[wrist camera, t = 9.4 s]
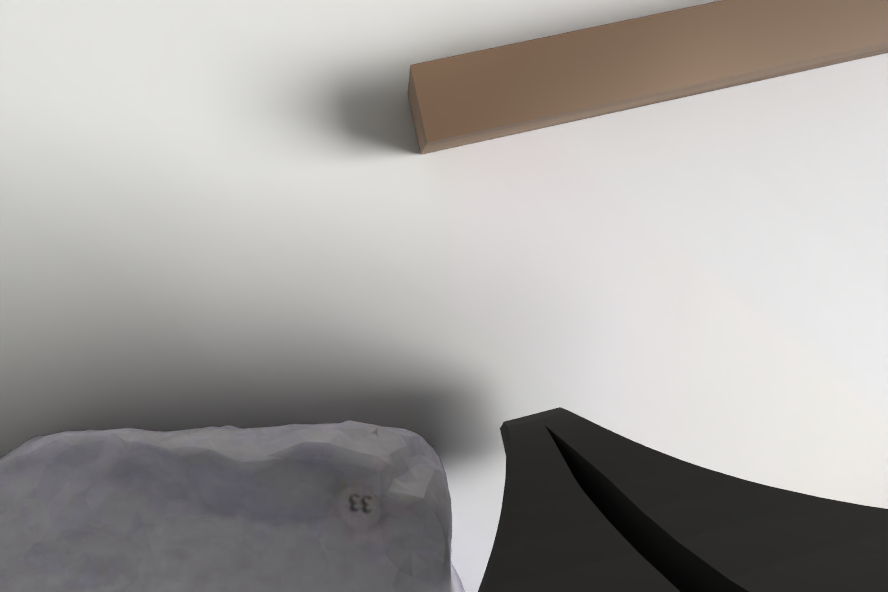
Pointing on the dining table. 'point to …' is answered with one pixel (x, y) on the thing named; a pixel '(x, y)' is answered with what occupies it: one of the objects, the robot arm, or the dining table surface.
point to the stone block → (227, 511)
